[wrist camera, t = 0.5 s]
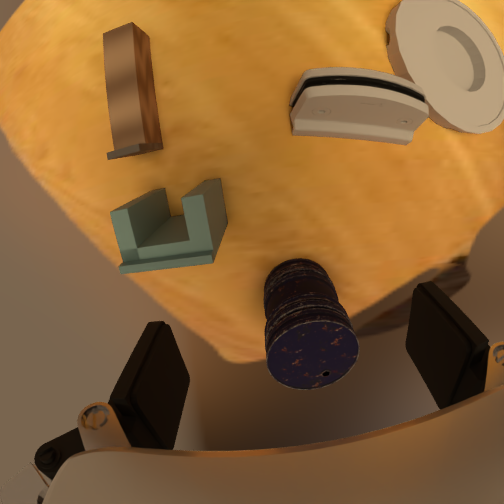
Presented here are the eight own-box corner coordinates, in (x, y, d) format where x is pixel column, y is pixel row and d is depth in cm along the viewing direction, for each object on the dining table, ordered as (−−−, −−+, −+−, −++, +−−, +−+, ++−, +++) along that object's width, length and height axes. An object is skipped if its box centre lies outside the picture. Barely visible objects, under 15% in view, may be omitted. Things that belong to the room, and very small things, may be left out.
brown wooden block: (122, 45, 29) (95, 29, 21) (149, 36, 29) (125, 16, 21) (136, 155, 35) (107, 159, 27) (163, 148, 34) (139, 150, 27)
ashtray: (435, -16, 22) (446, -24, 18) (511, 93, 28) (525, 93, 24) (351, 32, 28) (360, 22, 24) (448, 161, 34) (463, 164, 30)
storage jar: (249, 281, 41) (245, 350, 27) (309, 244, 39) (335, 300, 25) (286, 328, 44) (296, 401, 30) (341, 296, 42) (373, 362, 28)
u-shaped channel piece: (151, 190, 36) (104, 215, 24) (220, 178, 36) (200, 196, 24) (160, 233, 39) (120, 274, 26) (227, 223, 38) (213, 263, 26)
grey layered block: (289, 135, 34) (299, 97, 24) (287, 103, 34) (296, 59, 24) (408, 145, 33) (447, 120, 23) (403, 115, 33) (438, 84, 23)
